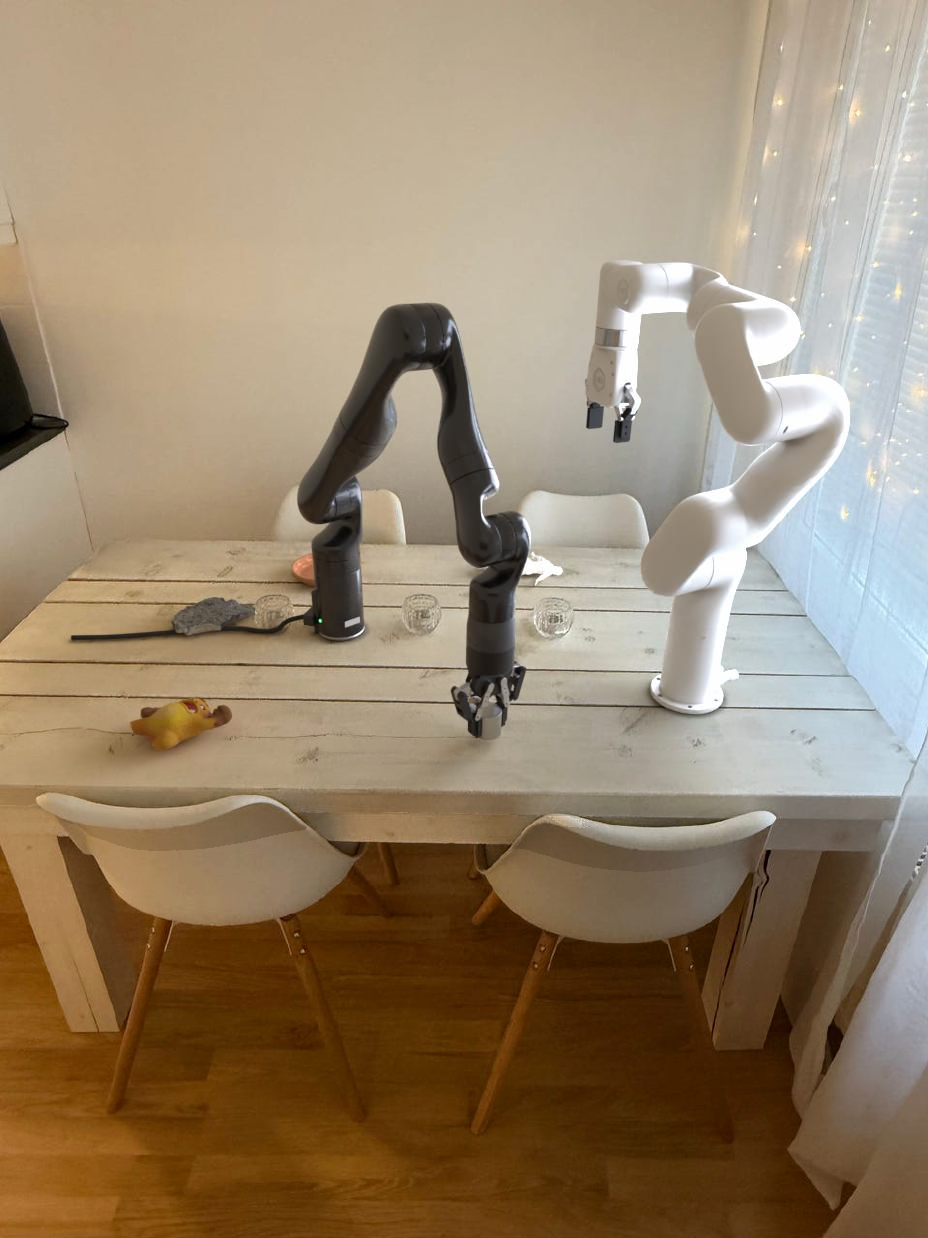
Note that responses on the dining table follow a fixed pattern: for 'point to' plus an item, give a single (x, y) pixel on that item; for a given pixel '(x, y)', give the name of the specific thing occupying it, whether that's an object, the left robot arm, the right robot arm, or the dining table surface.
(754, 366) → the right robot arm
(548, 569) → the figurine
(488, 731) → the can
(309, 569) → the saucer
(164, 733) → the toy
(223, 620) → the stone slab
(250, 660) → the dining table surface
